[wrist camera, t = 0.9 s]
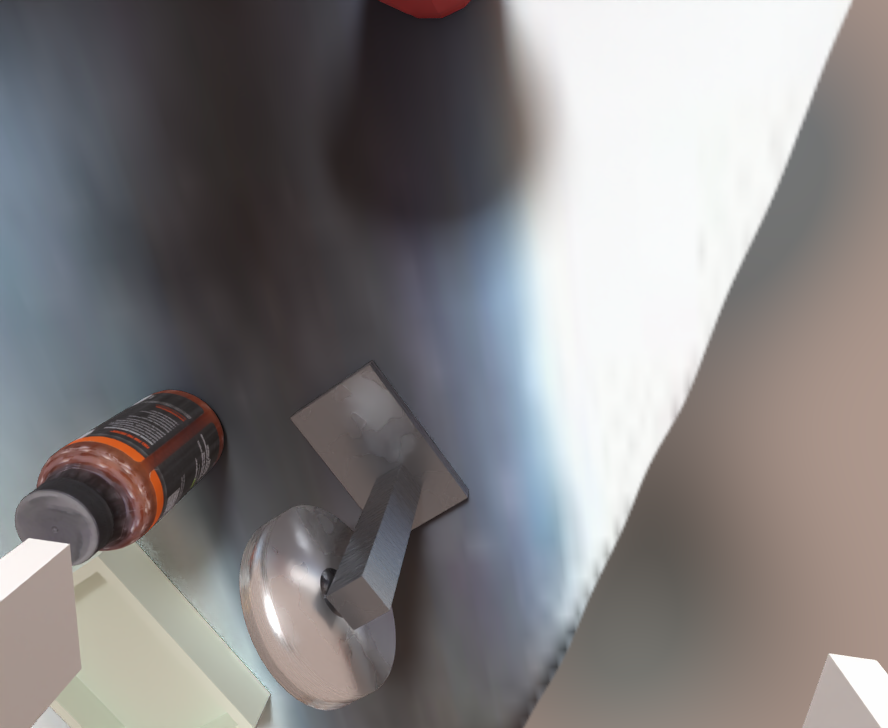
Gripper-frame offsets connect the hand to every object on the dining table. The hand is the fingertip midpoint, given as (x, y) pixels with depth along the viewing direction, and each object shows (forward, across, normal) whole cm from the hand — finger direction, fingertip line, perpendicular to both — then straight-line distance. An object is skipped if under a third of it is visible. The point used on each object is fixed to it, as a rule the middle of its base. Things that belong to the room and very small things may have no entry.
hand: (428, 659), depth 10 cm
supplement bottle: (+25, -18, -9) cm, 32 cm away
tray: (+25, -21, -26) cm, 42 cm away
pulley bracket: (+25, -5, -8) cm, 27 cm away
